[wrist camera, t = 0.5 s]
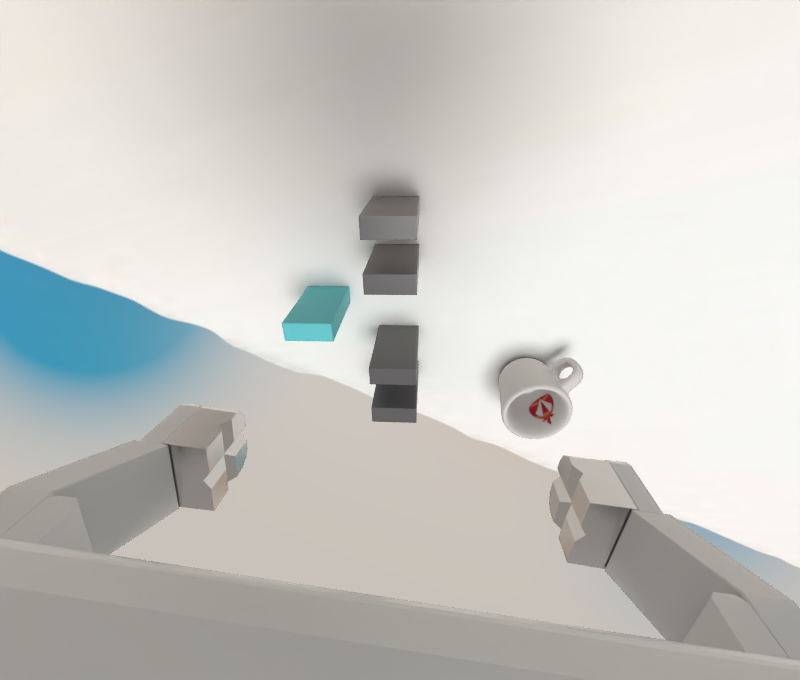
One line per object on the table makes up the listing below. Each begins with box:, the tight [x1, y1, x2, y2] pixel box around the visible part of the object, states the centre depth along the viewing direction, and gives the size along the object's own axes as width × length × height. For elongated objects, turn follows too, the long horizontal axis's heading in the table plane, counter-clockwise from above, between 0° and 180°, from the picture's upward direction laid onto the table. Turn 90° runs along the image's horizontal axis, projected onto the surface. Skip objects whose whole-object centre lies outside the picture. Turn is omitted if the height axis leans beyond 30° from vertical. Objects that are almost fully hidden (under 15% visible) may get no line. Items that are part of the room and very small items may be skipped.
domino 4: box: [372, 362, 418, 423], centre depth 48 cm, size 2×5×10 cm, turn 91°
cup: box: [499, 358, 583, 439], centre depth 48 cm, size 11×8×8 cm
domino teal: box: [282, 286, 350, 341], centre depth 44 cm, size 2×5×10 cm, turn 91°
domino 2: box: [363, 244, 419, 295], centre depth 41 cm, size 2×5×10 cm, turn 91°
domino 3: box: [369, 325, 419, 385], centre depth 46 cm, size 2×5×10 cm, turn 91°
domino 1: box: [359, 196, 419, 240], centre depth 38 cm, size 2×5×10 cm, turn 91°
